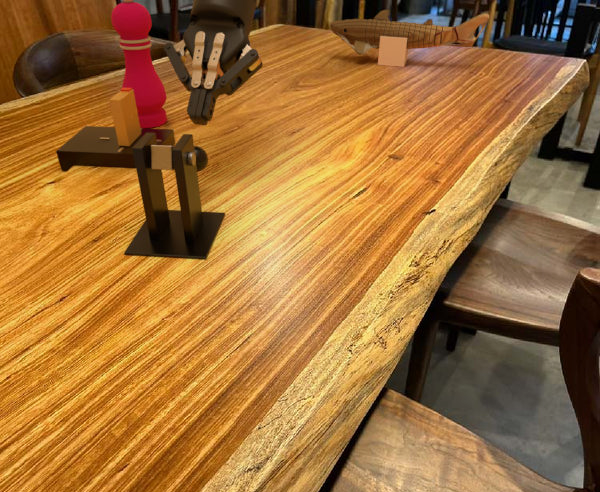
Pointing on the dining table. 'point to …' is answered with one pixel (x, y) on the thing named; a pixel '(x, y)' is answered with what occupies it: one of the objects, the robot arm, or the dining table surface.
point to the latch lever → (164, 157)
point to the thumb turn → (125, 116)
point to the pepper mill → (140, 62)
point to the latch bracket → (172, 223)
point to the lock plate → (104, 148)
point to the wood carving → (403, 35)
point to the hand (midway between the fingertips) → (198, 122)
